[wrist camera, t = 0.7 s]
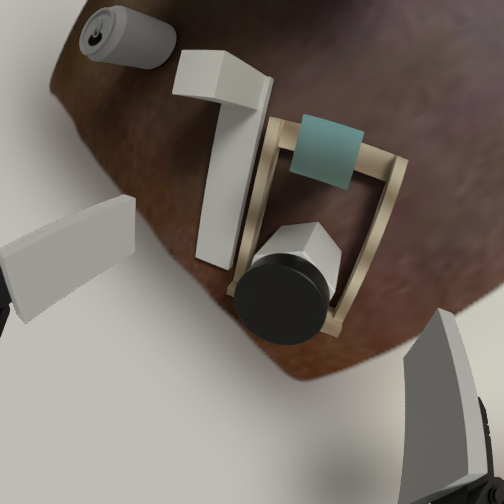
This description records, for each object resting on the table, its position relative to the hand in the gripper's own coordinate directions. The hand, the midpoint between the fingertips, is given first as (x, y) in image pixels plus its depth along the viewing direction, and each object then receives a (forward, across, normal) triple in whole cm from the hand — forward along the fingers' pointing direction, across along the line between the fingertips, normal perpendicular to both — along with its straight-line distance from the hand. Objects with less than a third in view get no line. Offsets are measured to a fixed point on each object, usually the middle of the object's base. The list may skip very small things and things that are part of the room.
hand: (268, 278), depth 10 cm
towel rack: (+22, 0, -5) cm, 22 cm away
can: (+22, -26, +14) cm, 37 cm away
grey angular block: (+22, -11, -2) cm, 24 cm away
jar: (+22, 0, -9) cm, 23 cm away
